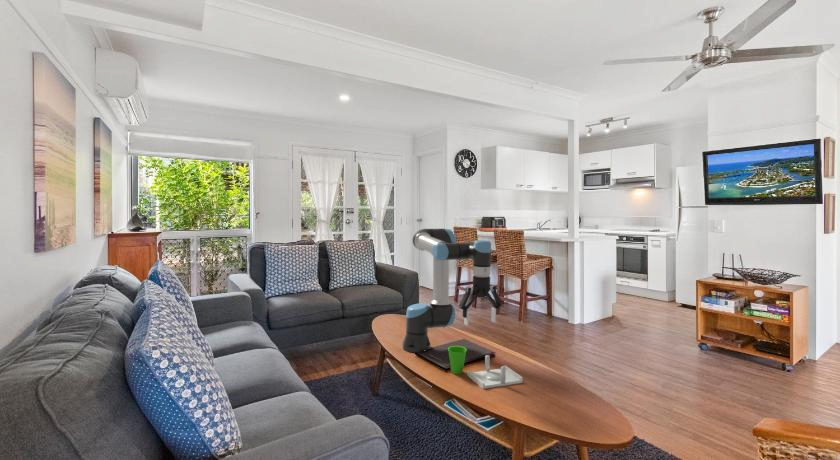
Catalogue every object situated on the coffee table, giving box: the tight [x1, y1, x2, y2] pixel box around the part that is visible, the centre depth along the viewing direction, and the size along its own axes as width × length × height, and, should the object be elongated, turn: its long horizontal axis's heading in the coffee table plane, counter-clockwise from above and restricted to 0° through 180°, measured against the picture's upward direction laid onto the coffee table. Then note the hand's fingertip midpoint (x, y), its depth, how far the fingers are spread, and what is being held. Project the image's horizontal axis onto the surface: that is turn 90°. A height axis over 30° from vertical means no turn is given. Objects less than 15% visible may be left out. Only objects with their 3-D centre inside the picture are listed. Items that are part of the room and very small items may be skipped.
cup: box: [447, 345, 468, 375], centre depth 188 cm, size 9×9×11 cm
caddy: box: [467, 354, 524, 390], centre depth 181 cm, size 16×20×8 cm
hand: (480, 323), depth 178 cm, fingers open, 13 cm apart
